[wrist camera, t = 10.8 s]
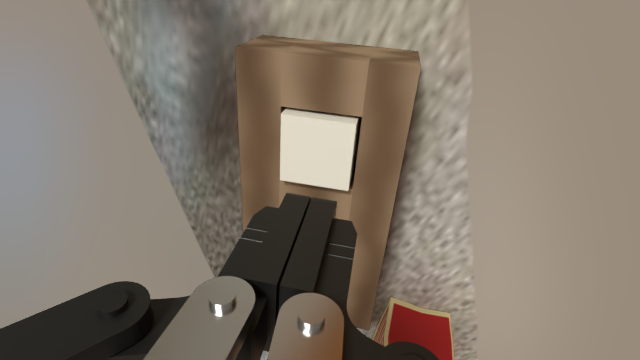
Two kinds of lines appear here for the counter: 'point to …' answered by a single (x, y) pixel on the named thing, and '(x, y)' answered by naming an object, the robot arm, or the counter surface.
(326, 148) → the cream square block
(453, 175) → the counter surface
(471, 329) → the counter surface
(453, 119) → the counter surface
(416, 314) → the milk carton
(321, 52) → the block
